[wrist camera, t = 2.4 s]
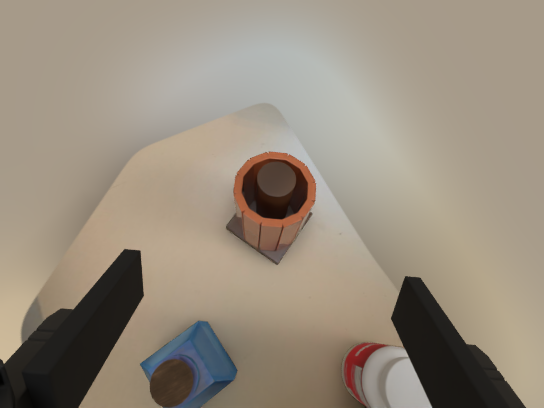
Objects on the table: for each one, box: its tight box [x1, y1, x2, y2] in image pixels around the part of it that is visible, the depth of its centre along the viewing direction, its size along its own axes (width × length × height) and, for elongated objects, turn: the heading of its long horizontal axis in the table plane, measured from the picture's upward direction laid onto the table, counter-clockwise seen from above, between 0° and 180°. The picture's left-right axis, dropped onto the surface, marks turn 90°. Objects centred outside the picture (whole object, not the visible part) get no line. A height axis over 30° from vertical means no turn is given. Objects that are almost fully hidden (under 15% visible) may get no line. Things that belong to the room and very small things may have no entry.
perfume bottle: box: [140, 321, 237, 408], centre depth 29 cm, size 6×6×12 cm
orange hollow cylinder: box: [233, 152, 316, 251], centre depth 35 cm, size 8×8×10 cm
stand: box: [226, 162, 312, 265], centre depth 34 cm, size 8×8×13 cm
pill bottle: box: [342, 342, 432, 408], centre depth 30 cm, size 6×6×11 cm
